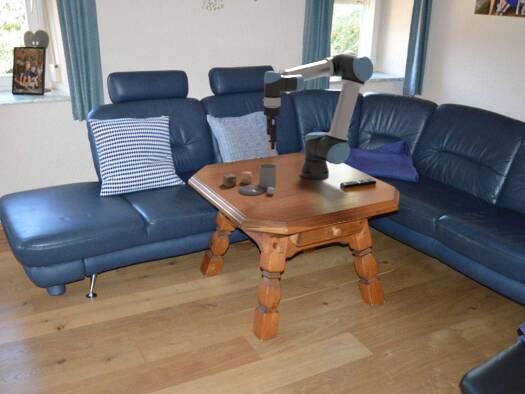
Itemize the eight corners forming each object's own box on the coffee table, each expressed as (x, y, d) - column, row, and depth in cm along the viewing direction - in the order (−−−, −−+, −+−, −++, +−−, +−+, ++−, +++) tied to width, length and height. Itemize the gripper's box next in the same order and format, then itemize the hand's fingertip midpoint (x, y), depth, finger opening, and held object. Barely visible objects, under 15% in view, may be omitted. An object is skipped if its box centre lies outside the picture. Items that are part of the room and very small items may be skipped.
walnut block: (232, 183, 261) (232, 173, 259) (236, 186, 256) (236, 176, 255) (223, 184, 259) (223, 174, 257) (226, 187, 254) (226, 177, 253)
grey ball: (273, 193, 247) (274, 185, 246) (274, 195, 244) (275, 188, 243) (266, 193, 247) (266, 186, 246) (267, 195, 243) (267, 188, 242)
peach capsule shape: (251, 180, 265) (251, 171, 263) (252, 183, 260) (252, 174, 258) (241, 180, 264) (241, 171, 262) (242, 183, 259) (242, 174, 258)
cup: (274, 188, 254) (274, 169, 250) (257, 187, 255) (258, 167, 252) (277, 183, 261) (277, 164, 258) (261, 181, 263) (261, 163, 260)
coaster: (262, 186, 255) (262, 185, 255) (264, 195, 244) (264, 193, 244) (238, 187, 254) (238, 185, 254) (239, 195, 243) (239, 194, 243)
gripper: (261, 101, 242) (260, 145, 250) (266, 111, 219) (265, 159, 226) (277, 101, 243) (275, 145, 250) (283, 111, 220) (282, 159, 227)
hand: (270, 152), depth 238 cm, fingers open, 13 cm apart
